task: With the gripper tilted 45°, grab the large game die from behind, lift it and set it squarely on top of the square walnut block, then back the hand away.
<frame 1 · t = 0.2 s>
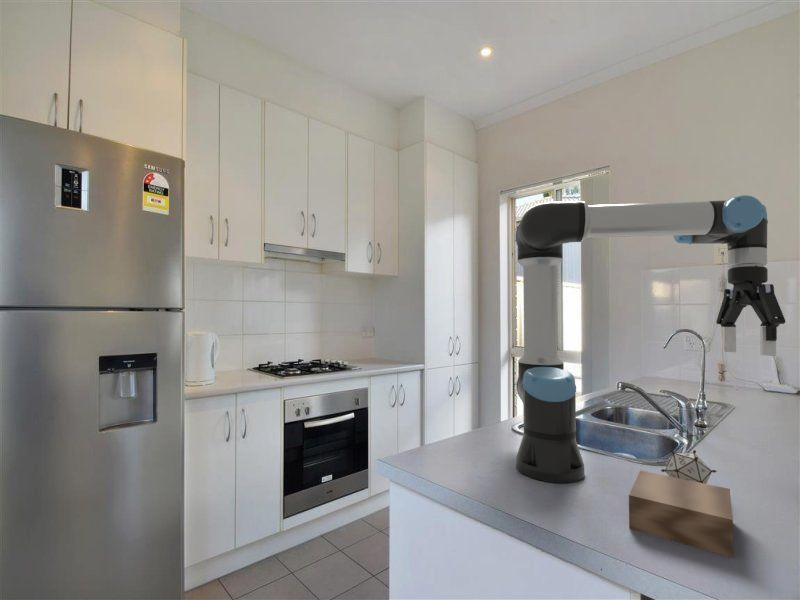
hand: (747, 353, 100), 27 cm above the worktop, tool pointing down, fingers open, 13 cm apart
game die: (688, 491, 86), on the worktop
walnut block: (680, 526, 72), on the worktop
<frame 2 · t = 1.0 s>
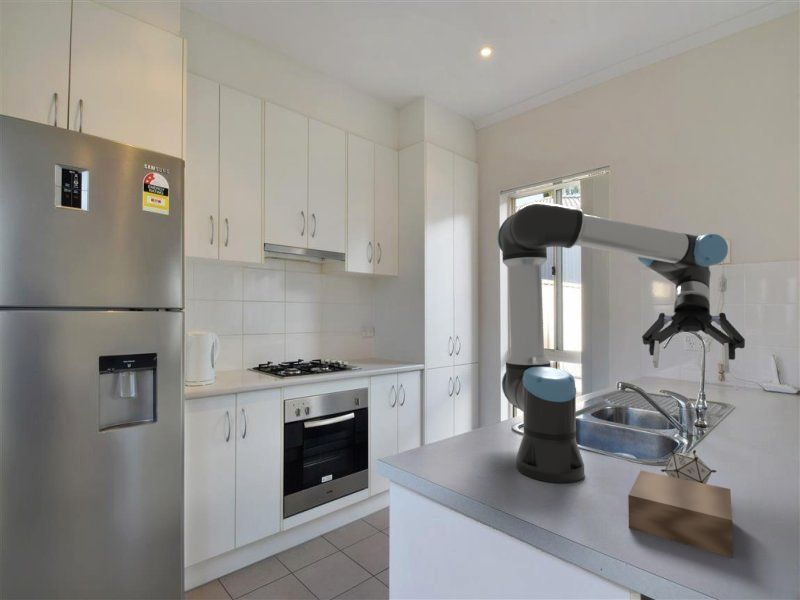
hand: (689, 366, 95), 25 cm above the worktop, tool tilted 45°, fingers open, 13 cm apart
nothing on the worktop moved.
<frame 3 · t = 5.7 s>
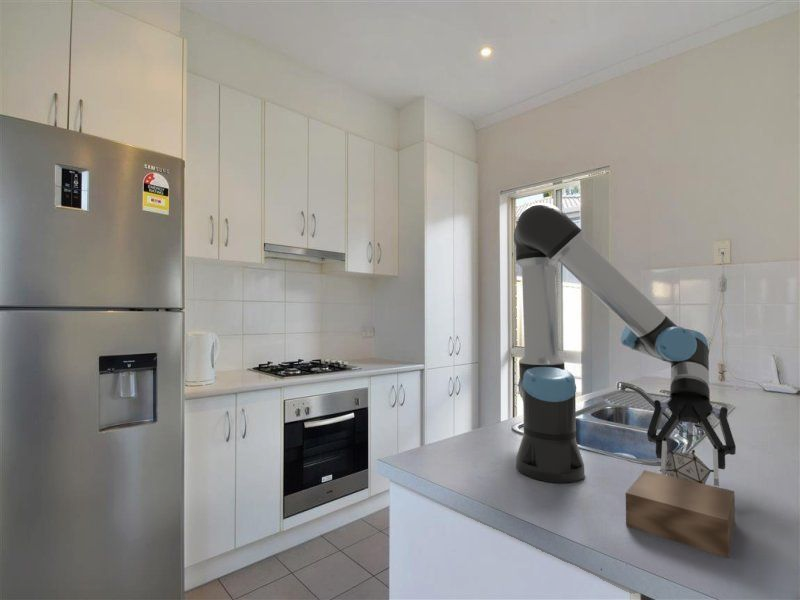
hand: (689, 476, 83), 4 cm above the worktop, tool tilted 45°, fingers closed on game die, 8 cm apart
game die: (687, 490, 86), on the worktop, touching gripper
everything else where it was.
when the fingers open (11 cm above the worktop, at t = 11.5 s): game die drops 2 cm, point 5 cm above the worktop.
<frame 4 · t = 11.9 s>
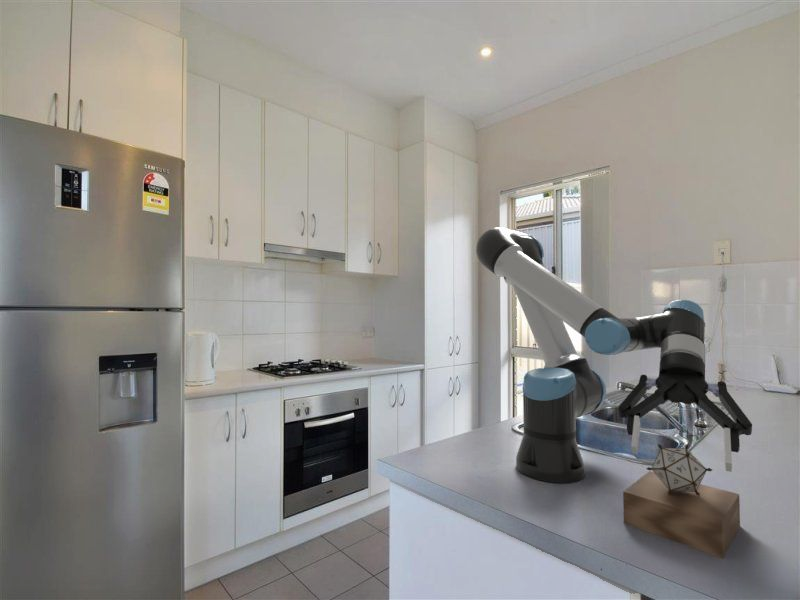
hand: (678, 458, 71), 12 cm above the worktop, tool tilted 45°, fingers open, 13 cm apart
game die: (678, 493, 72), point 5 cm above the worktop
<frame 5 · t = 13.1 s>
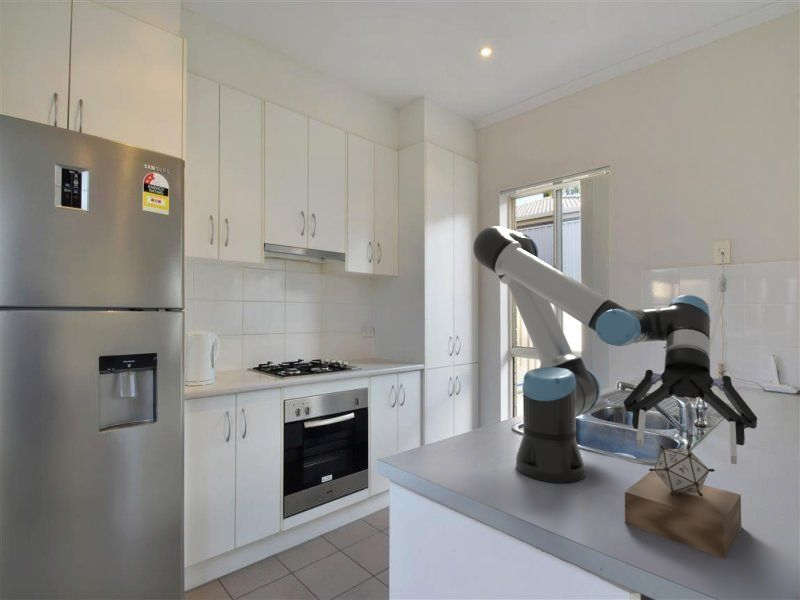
hand: (684, 451, 72), 13 cm above the worktop, tool tilted 45°, fingers open, 13 cm apart
game die: (681, 494, 72), point 5 cm above the worktop, touching walnut block
walnut block: (682, 527, 72), on the worktop, touching game die
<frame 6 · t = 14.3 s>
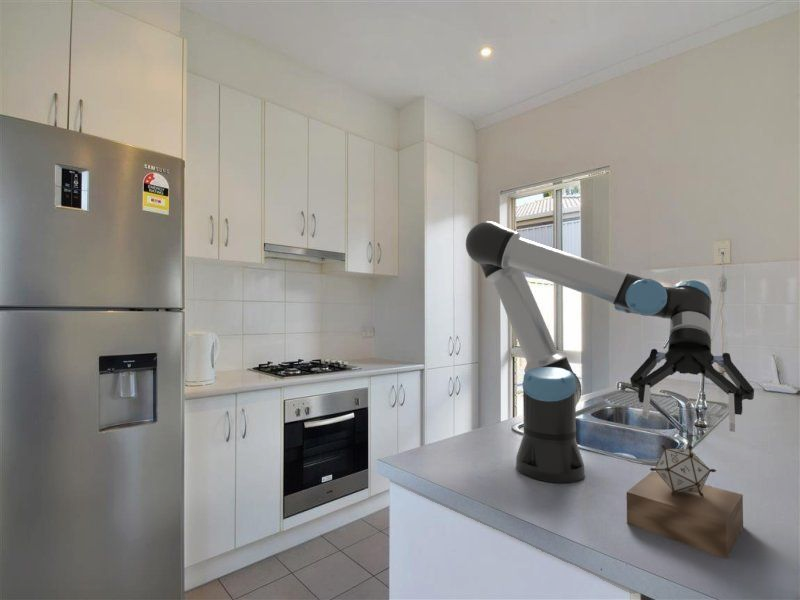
hand: (686, 421, 78), 17 cm above the worktop, tool tilted 45°, fingers open, 13 cm apart
nothing on the worktop moved.
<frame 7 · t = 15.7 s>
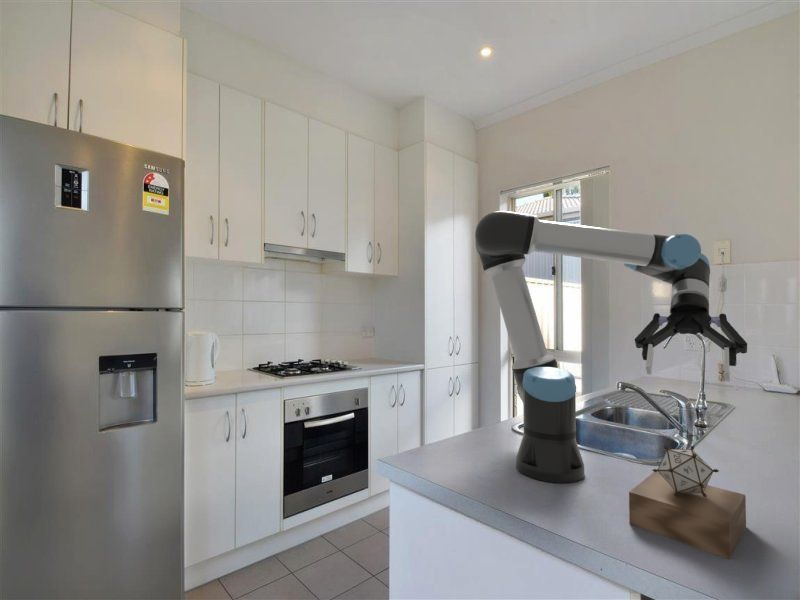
hand: (685, 373, 86), 24 cm above the worktop, tool tilted 45°, fingers open, 13 cm apart
nothing on the worktop moved.
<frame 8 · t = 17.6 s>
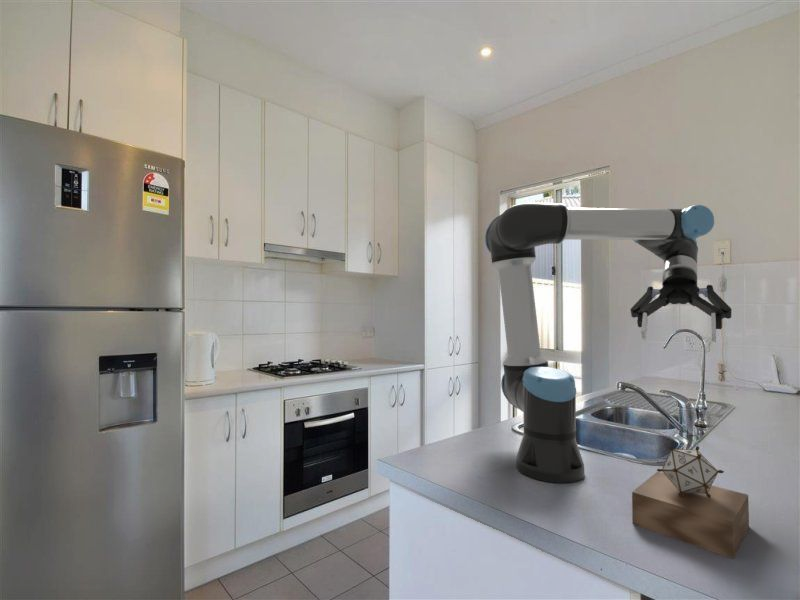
hand: (677, 336, 95), 32 cm above the worktop, tool tilted 45°, fingers open, 13 cm apart
at the end: game die inside the target area on the walnut block (0.4 cm from its centre), point 5.8 cm above the walnut block's base; game die tilted 1°; the gripper is holding nothing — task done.
